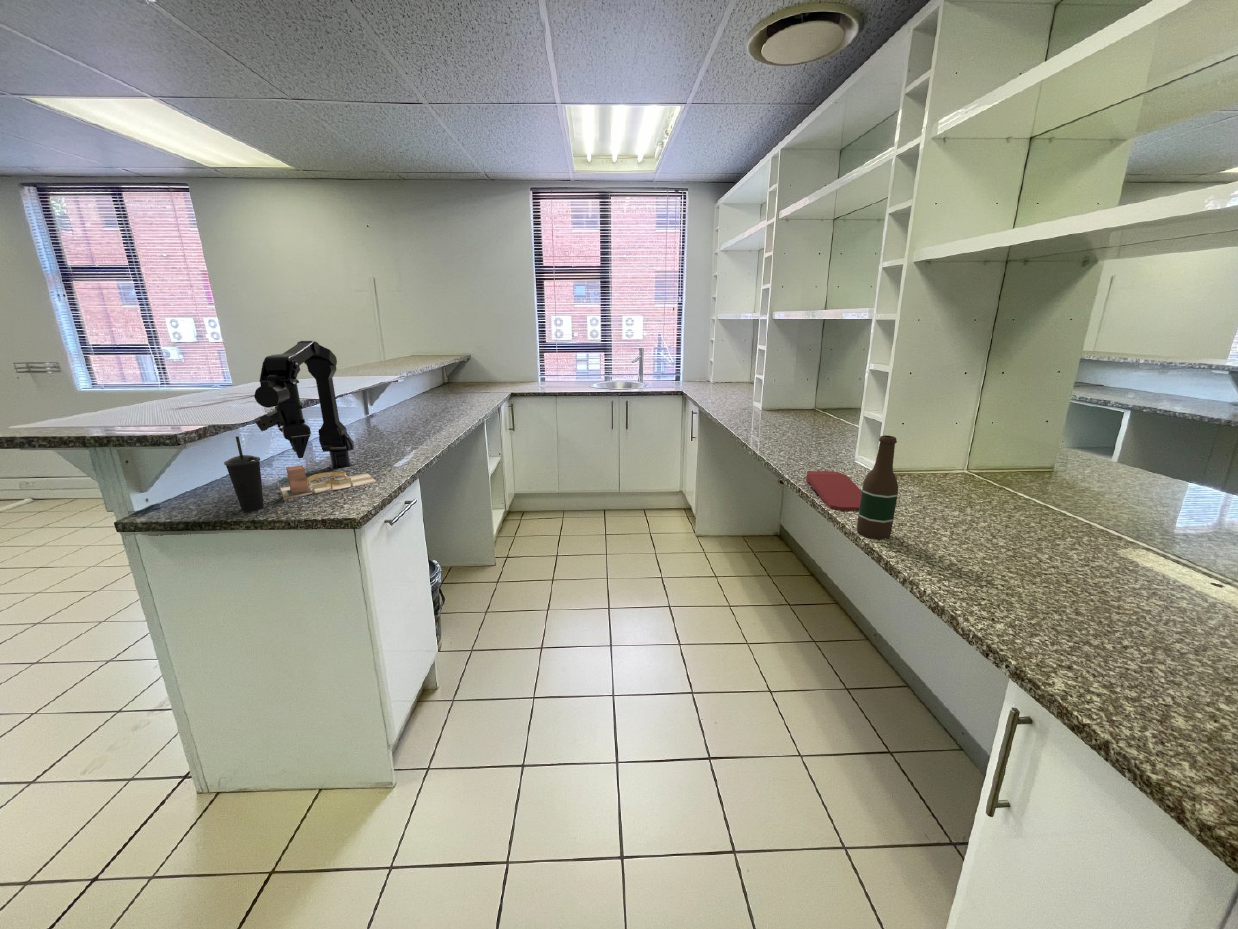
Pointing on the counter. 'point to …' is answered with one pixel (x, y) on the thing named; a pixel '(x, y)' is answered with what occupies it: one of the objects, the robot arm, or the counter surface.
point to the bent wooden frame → (330, 482)
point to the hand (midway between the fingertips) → (298, 454)
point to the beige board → (355, 479)
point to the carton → (835, 489)
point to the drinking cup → (246, 480)
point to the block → (297, 479)
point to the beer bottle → (879, 494)
